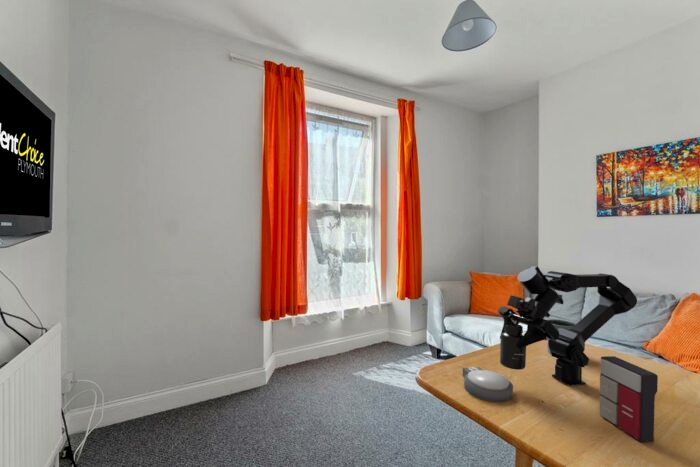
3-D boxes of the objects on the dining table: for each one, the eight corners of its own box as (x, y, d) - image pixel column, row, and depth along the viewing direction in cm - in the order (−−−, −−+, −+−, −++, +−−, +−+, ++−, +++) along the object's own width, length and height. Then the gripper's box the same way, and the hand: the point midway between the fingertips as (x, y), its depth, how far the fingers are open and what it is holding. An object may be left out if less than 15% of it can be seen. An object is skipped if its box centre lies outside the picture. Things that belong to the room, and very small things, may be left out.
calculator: (596, 414, 82) (597, 355, 82) (612, 414, 82) (613, 355, 82) (638, 443, 71) (640, 375, 71) (656, 442, 71) (658, 374, 71)
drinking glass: (539, 349, 128) (540, 319, 128) (560, 348, 130) (561, 318, 130) (562, 359, 118) (562, 327, 118) (584, 357, 120) (584, 325, 120)
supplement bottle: (520, 372, 91) (520, 329, 91) (495, 365, 96) (496, 324, 96) (529, 366, 95) (530, 325, 95) (505, 359, 100) (506, 320, 100)
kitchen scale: (489, 374, 104) (489, 363, 104) (523, 400, 88) (523, 387, 88) (451, 376, 102) (451, 365, 102) (479, 403, 86) (479, 390, 86)
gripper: (502, 281, 106) (473, 317, 103) (551, 292, 87) (516, 335, 85) (522, 304, 108) (493, 339, 105) (574, 319, 89) (540, 362, 87)
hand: (509, 343), depth 95 cm, fingers closed on supplement bottle, 7 cm apart
